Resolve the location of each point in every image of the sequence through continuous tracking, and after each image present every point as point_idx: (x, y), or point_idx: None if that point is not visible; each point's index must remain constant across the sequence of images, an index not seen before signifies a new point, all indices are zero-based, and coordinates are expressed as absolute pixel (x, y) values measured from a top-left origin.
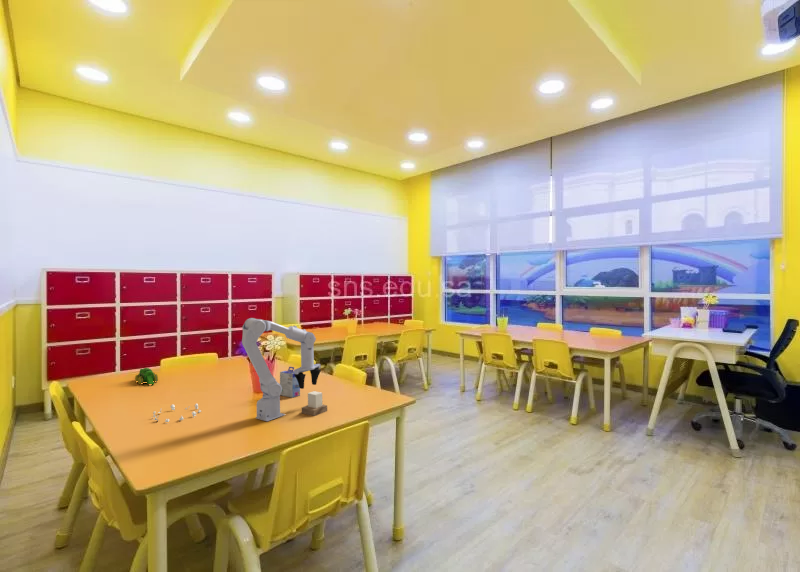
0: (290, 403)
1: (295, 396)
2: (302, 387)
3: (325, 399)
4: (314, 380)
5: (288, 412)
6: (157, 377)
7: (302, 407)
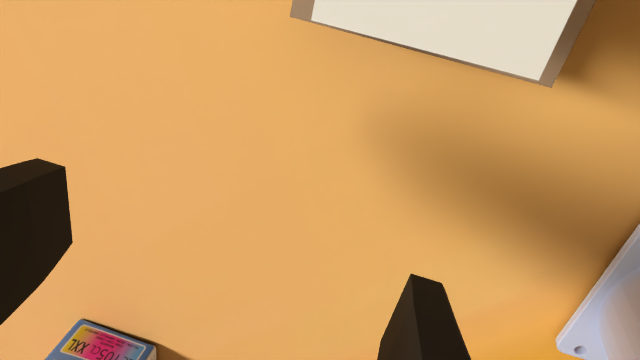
0: (277, 306)
1: (125, 336)
2: (449, 310)
3: (11, 51)
4: None
5: (535, 215)
6: None
7: (556, 70)
